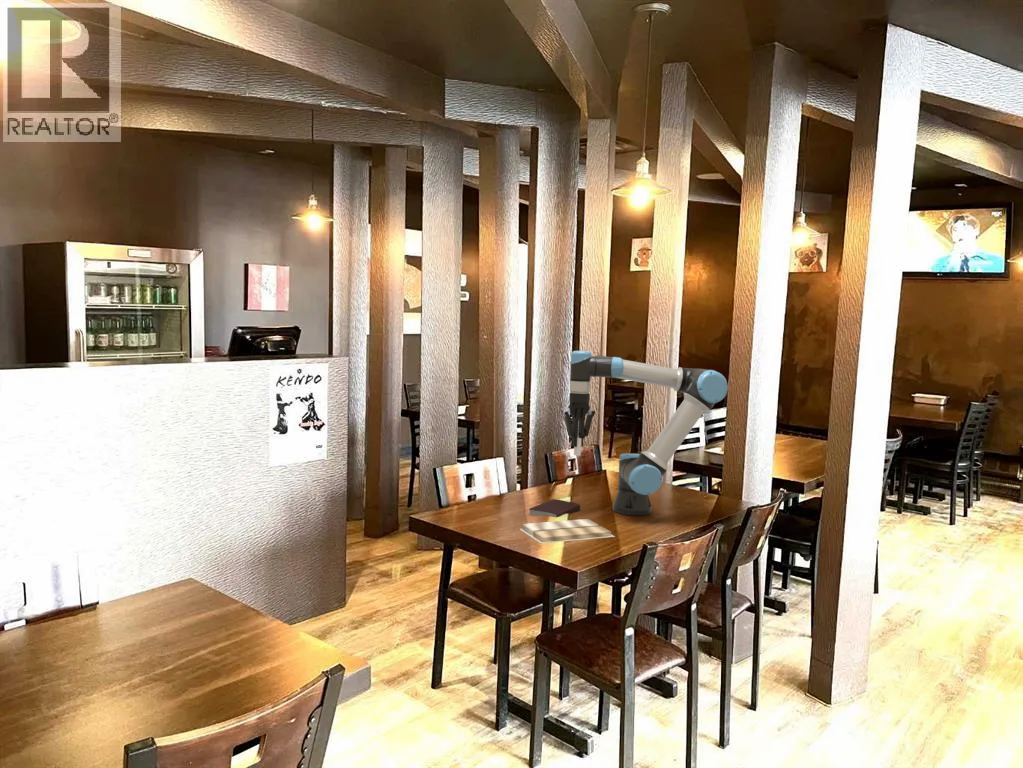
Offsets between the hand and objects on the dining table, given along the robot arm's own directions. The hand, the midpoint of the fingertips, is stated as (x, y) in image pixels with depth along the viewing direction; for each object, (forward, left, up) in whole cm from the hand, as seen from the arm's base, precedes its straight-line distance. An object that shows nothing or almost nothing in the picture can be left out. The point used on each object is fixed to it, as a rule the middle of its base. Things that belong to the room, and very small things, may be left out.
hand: (577, 455), depth 281 cm
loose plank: (+13, +14, -23) cm, 30 cm away
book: (+3, -12, -25) cm, 28 cm away
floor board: (+13, +19, -24) cm, 34 cm away
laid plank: (+13, +23, -23) cm, 35 cm away
